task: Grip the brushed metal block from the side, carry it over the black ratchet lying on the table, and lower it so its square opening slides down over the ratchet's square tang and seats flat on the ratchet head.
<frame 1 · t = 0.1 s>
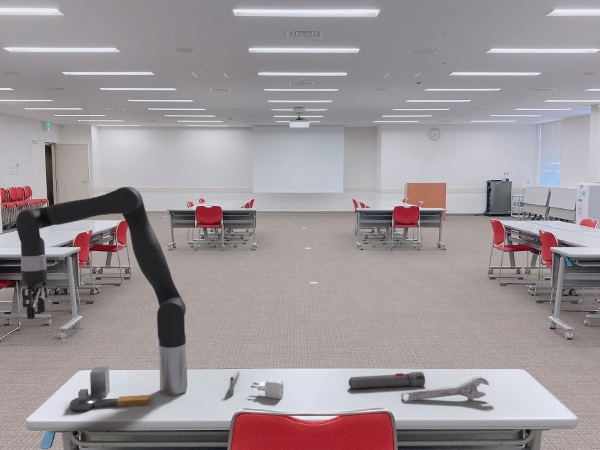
hand: (36, 315, 164), 29 cm above the table, tool pointing down, fingers open, 8 cm apart
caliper: (235, 384, 179), on the table
wrench: (444, 401, 165), on the table
ratchet: (83, 406, 160), on the table
brushed metal block: (100, 394, 169), on the table
flashlight: (386, 387, 176), on the table
power adapter: (267, 396, 168), on the table
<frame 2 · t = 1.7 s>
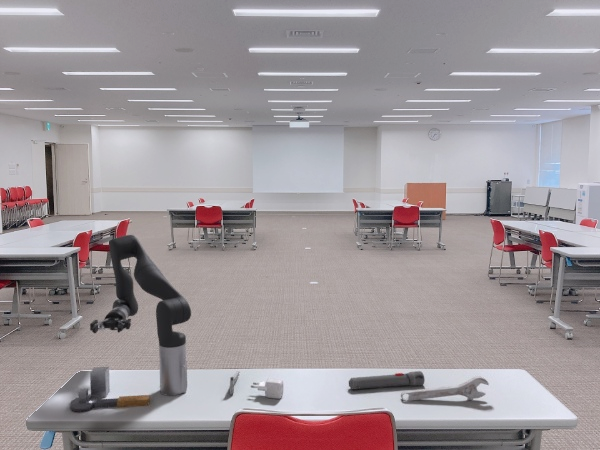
hand: (106, 330, 178), 20 cm above the table, tool horizontal, fingers open, 8 cm apart
nothing on the table moved.
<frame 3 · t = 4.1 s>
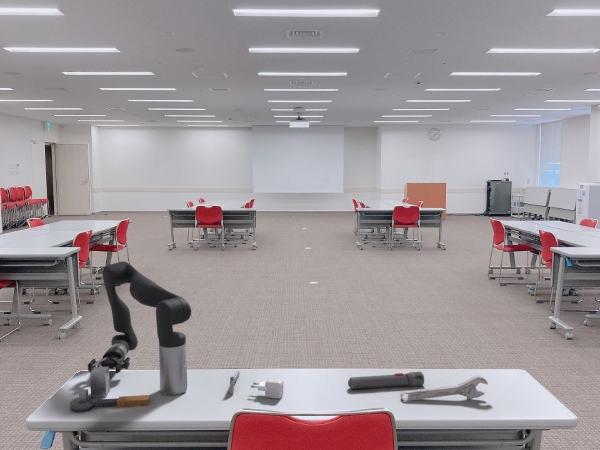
hand: (104, 371, 174), 6 cm above the table, tool horizontal, fingers open, 8 cm apart
nothing on the table moved.
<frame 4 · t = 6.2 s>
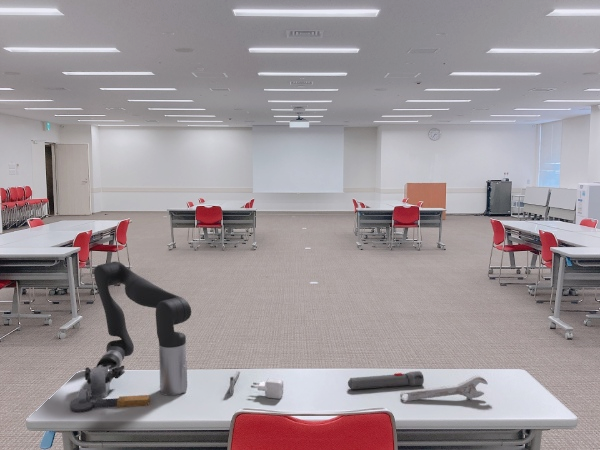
hand: (98, 380, 166), 6 cm above the table, tool horizontal, fingers closed on brushed metal block, 5 cm apart
brushed metal block: (100, 394, 169), on the table, touching gripper
everything else where it was.
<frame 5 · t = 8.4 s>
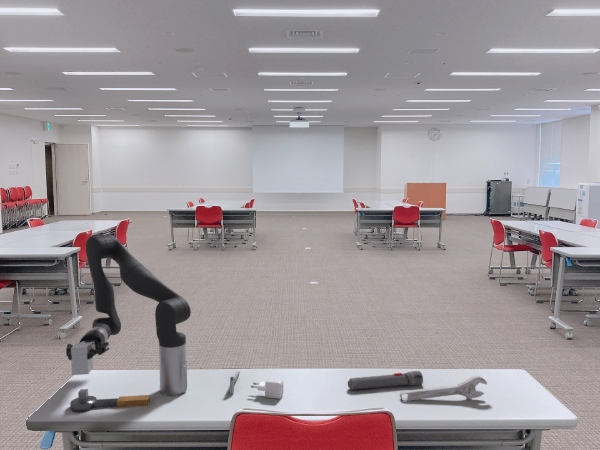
hand: (79, 356, 156), 18 cm above the table, tool horizontal, fingers closed on brushed metal block, 5 cm apart
brushed metal block: (82, 371, 159), point 12 cm above the table, touching gripper
everything else where it was.
when the fingers open (9 cm above the table, at t = 11.0 s): brushed metal block stays where it is, resting on ratchet.
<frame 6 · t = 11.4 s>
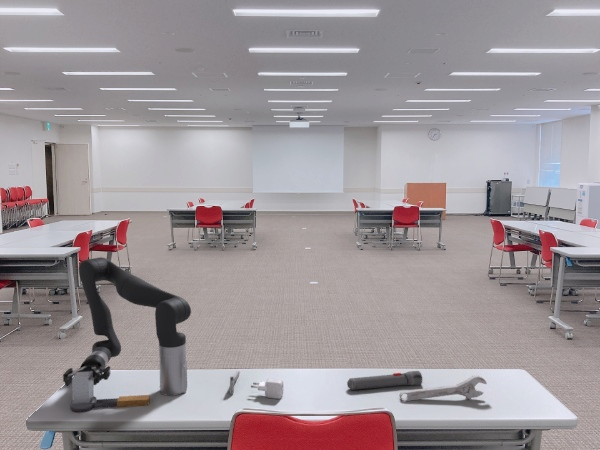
hand: (81, 382, 157), 9 cm above the table, tool horizontal, fingers open, 8 cm apart
brushed metal block: (83, 400, 160), point 2 cm above the table, touching ratchet
everything else where it was.
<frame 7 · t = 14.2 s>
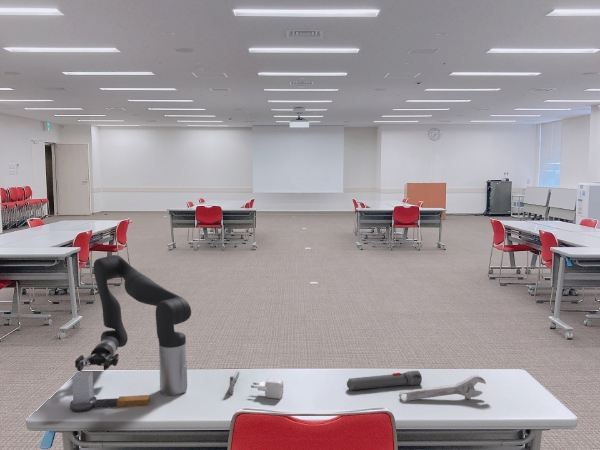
hand: (92, 368, 170), 9 cm above the table, tool horizontal, fingers open, 8 cm apart
nothing on the table moved.
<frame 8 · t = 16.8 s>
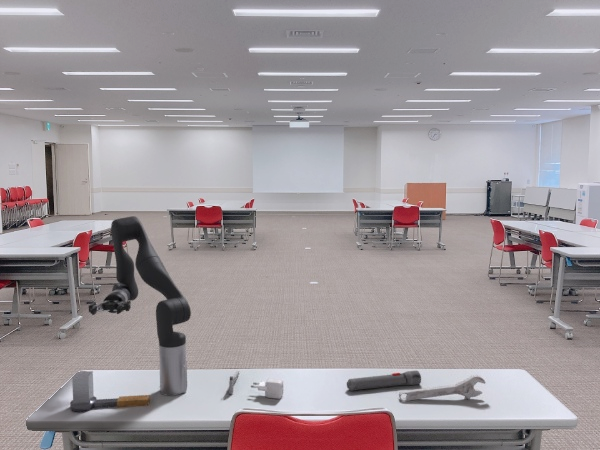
hand: (105, 311, 173), 28 cm above the table, tool horizontal, fingers open, 8 cm apart
at the end: brushed metal block 0.0 cm off-centre on the ratchet, point 2.0 cm above the ratchet's base; brushed metal block tilted 0°; the gripper is holding nothing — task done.
